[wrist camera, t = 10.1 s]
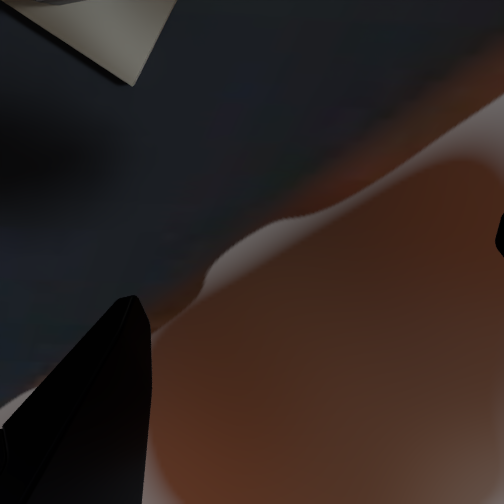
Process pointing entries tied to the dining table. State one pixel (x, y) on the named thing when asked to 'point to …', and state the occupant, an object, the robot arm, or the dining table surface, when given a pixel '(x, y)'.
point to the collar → (103, 29)
